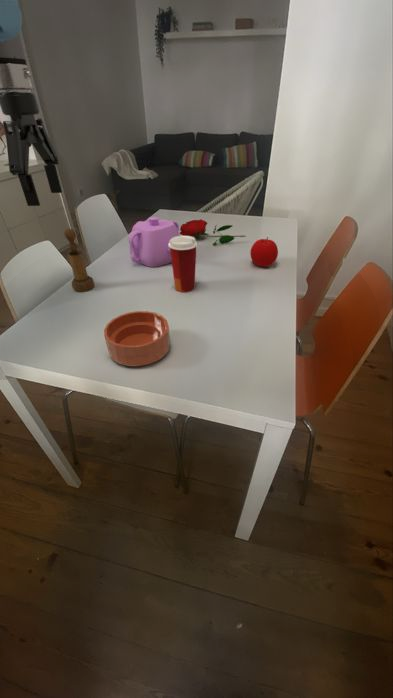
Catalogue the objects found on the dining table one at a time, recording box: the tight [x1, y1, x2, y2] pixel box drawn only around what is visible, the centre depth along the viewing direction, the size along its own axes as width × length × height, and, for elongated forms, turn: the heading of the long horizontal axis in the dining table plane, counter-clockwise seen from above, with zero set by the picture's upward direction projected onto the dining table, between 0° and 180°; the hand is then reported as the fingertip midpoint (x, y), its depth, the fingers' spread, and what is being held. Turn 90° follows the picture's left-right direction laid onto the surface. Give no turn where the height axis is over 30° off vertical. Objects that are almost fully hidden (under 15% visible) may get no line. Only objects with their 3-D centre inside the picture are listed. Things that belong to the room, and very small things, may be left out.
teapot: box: [127, 216, 181, 268], centre depth 114 cm, size 19×21×14 cm
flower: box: [179, 218, 247, 246], centre depth 128 cm, size 9×10×30 cm
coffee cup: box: [168, 235, 198, 293], centre depth 94 cm, size 8×8×15 cm
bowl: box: [103, 310, 171, 367], centre depth 73 cm, size 14×14×6 cm
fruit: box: [249, 236, 279, 268], centre depth 108 cm, size 9×9×10 cm
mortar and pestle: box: [63, 228, 95, 293], centre depth 95 cm, size 7×6×18 cm
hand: (46, 198), depth 81 cm, fingers open, 13 cm apart
